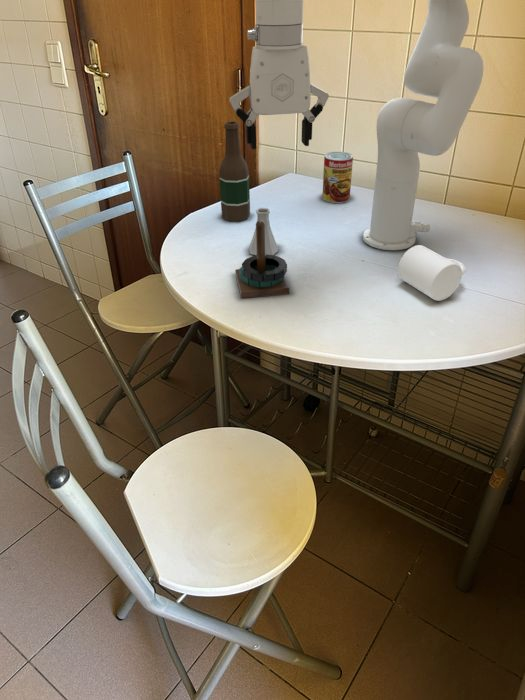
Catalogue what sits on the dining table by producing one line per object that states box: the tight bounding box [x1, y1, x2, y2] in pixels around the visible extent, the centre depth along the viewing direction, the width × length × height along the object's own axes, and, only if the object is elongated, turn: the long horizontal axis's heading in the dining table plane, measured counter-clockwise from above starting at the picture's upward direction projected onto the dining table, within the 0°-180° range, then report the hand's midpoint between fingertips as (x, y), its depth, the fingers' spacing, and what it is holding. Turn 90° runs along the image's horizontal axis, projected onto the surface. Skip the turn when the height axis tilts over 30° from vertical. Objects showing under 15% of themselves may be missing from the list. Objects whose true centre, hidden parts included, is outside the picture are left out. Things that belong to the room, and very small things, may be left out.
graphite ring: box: [241, 254, 288, 282], centre depth 110 cm, size 9×9×2 cm
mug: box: [397, 244, 467, 302], centre depth 107 cm, size 12×10×8 cm
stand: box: [234, 220, 290, 299], centre depth 108 cm, size 10×10×14 cm
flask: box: [248, 207, 279, 256], centre depth 122 cm, size 7×7×10 cm
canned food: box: [321, 151, 354, 204], centre depth 148 cm, size 8×8×12 cm
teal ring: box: [238, 264, 284, 287], centre depth 111 cm, size 9×9×2 cm
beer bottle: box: [218, 120, 251, 223], centre depth 135 cm, size 8×8×24 cm
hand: (279, 145), depth 96 cm, fingers open, 9 cm apart
